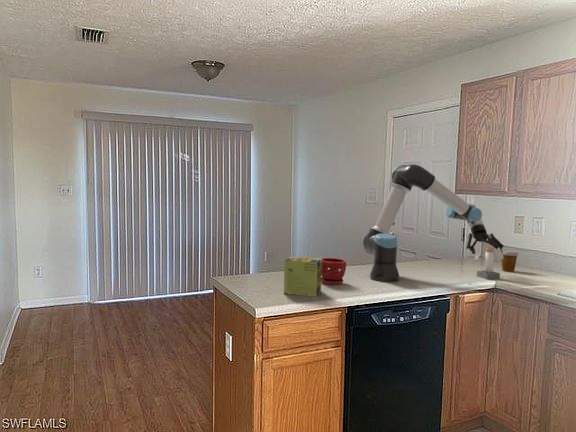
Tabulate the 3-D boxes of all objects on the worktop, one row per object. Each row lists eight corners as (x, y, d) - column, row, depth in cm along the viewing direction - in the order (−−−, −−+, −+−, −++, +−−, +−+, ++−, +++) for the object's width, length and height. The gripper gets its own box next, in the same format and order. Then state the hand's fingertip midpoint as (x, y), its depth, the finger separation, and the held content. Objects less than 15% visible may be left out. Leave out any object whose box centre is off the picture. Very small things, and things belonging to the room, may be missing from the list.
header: (486, 281, 233) (487, 273, 233) (476, 277, 241) (477, 270, 241) (499, 280, 235) (500, 273, 235) (489, 277, 243) (489, 270, 243)
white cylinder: (487, 278, 236) (489, 248, 234) (482, 276, 240) (484, 247, 238) (493, 278, 237) (495, 248, 235) (488, 276, 241) (490, 247, 239)
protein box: (316, 297, 195) (317, 262, 194) (283, 294, 199) (284, 260, 198) (321, 291, 205) (322, 258, 204) (289, 288, 209) (290, 256, 208)
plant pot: (335, 287, 213) (336, 263, 212) (314, 283, 222) (314, 259, 221) (350, 283, 223) (351, 259, 222) (329, 279, 232) (329, 256, 231)
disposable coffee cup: (501, 272, 259) (502, 251, 258) (497, 268, 268) (498, 249, 267) (519, 273, 257) (520, 252, 256) (514, 270, 266) (516, 250, 265)
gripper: (495, 232, 256) (508, 262, 242) (453, 231, 254) (464, 262, 240) (501, 223, 250) (515, 254, 236) (458, 223, 248) (470, 254, 234)
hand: (489, 258), depth 238 cm, fingers open, 13 cm apart
